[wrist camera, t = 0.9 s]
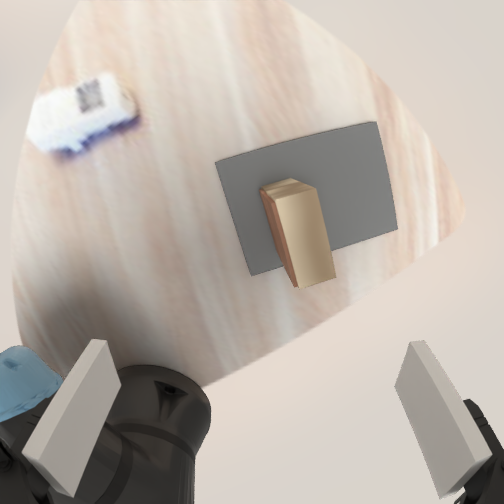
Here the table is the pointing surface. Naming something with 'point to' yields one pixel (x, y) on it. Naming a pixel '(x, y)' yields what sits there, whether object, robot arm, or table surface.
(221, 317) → the table surface
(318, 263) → the brown wooden block
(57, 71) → the table surface
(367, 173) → the mat
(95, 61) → the table surface
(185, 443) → the robot arm
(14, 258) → the table surface
